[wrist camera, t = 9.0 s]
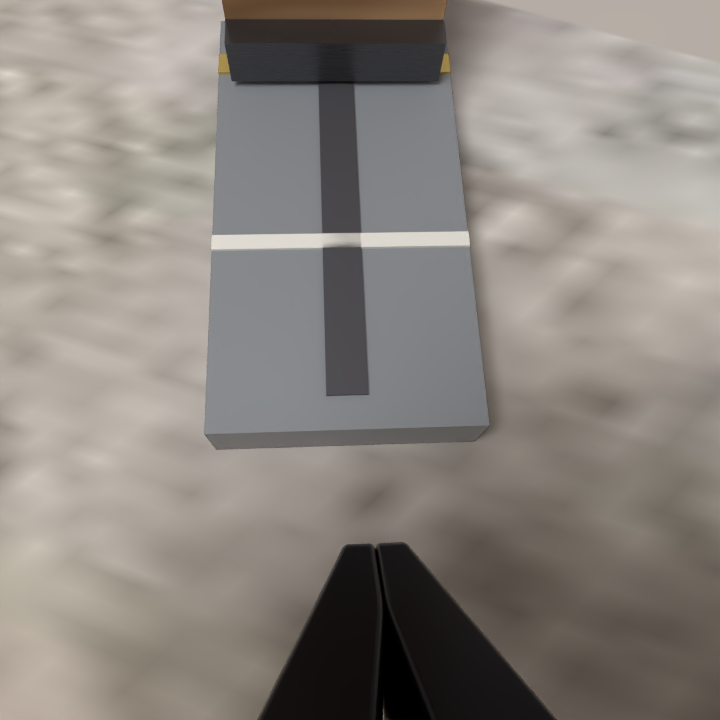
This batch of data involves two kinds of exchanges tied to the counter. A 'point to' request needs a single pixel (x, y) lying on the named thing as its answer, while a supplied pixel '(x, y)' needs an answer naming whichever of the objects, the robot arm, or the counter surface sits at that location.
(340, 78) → the slide lever
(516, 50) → the counter surface
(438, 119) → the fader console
